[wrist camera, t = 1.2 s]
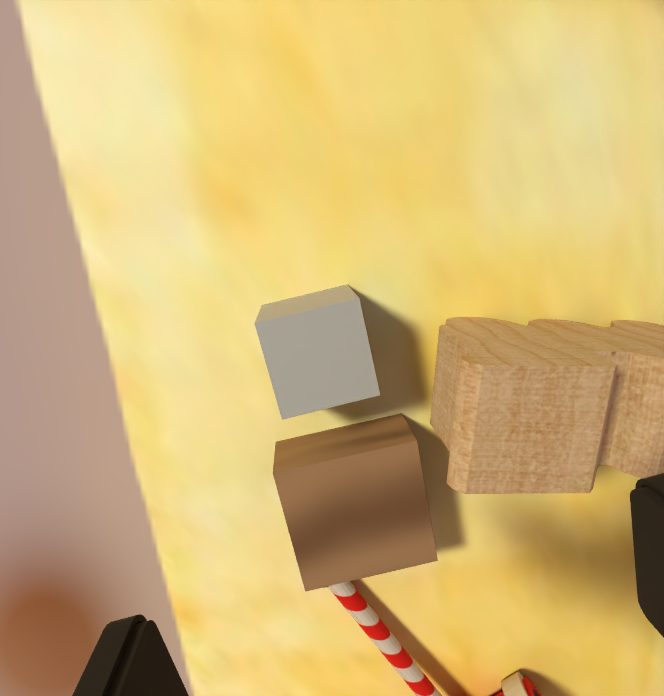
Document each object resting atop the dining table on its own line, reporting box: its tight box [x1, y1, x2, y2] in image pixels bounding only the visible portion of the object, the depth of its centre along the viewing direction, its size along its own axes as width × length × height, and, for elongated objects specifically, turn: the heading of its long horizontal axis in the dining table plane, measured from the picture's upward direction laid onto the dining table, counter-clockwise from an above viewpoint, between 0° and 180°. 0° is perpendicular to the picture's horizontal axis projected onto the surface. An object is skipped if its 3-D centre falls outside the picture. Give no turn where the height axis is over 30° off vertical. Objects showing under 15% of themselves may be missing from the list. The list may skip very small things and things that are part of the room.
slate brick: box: [255, 285, 380, 420], centre depth 24 cm, size 5×5×5 cm
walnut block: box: [273, 413, 438, 591], centre depth 27 cm, size 8×8×4 cm
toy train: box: [430, 317, 664, 494], centre depth 23 cm, size 6×17×10 cm, turn 88°
